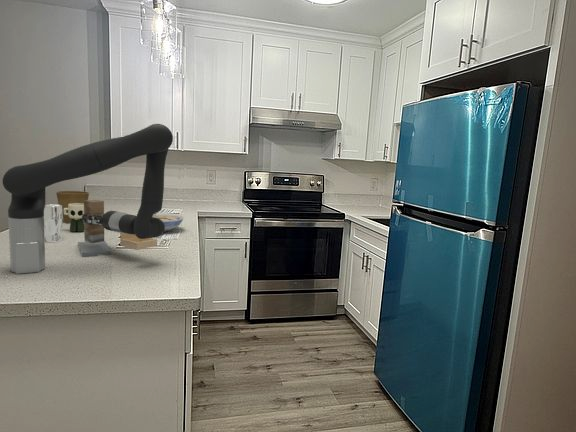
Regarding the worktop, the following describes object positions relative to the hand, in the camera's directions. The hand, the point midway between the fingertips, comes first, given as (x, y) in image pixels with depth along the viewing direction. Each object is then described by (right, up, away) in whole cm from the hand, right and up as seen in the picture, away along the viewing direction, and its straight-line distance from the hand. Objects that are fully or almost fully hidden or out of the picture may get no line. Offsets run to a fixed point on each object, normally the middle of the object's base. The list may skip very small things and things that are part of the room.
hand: (89, 216), depth 147 cm
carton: (+16, -13, +10) cm, 23 cm away
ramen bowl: (+13, -8, +45) cm, 47 cm away
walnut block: (+2, -10, 0) cm, 10 cm away
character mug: (-22, -7, +30) cm, 38 cm away
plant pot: (-36, -3, +51) cm, 62 cm away
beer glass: (-21, -10, +11) cm, 26 cm away
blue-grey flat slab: (+1, -13, +1) cm, 13 cm away
